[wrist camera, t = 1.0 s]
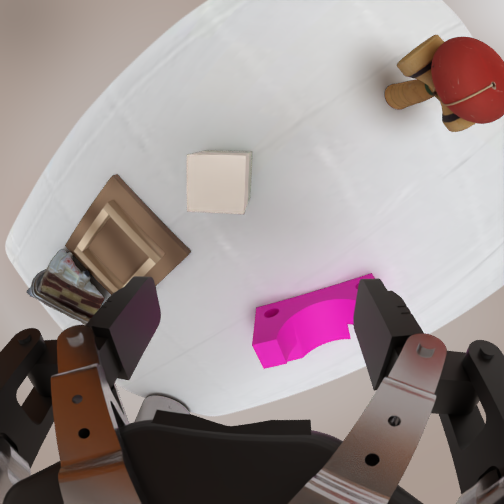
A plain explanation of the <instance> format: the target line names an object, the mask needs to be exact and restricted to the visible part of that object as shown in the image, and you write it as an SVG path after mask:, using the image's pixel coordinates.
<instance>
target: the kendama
mask: <svg viewBox="0 0 504 504" xmlns="http://www.w3.org/2000/svg"><path fill="white" fill-rule="evenodd" d="M397 67H398V68H399V69H400V70H401V72H402V73H403V74H404V75H405V76H407V77H411V78H415V79H417V80H411V81H407V82H403V83H398V84H392V85H390V86H388V87H387V89H386V90H385V99H386V101H387V103H388V104H389V105H390V106H391V107H393V108H395V109H404V108H406V107H408V106H411V105H414V104H417V103H420V102H423V101H426V100H428V99H430V98H432V97H434V96H435V97H436V98H437V99H438V100H439V101H440V103H441V106H442V112H443V113H442V121H443V123H444V125H445V126H446V127H447V129H448V130H449V131H452V132H458V131H462V130H464V129H467V128H469V127H470V126H472V125H474V124H475V123H481V124H484V123H490V122H493V121H495V120H497V119H499V118H500V117H502V116H503V115H504V61H503V60H502V59H501V57H500V56H499V55H498V54H497V53H496V52H495V51H494V50H493V49H492V48H490V47H489V46H488V45H487V44H485V43H483V42H481V41H479V40H477V39H474V38H470V37H456V38H452V39H449V40H447V41H446V42H444V41H443V40H442V39H441V38H440V37H439V36H438V35H434V36H432V37H430V38H429V39H427V40H426V41H425V42H423V43H421V44H420V45H419V46H418V47H416V48H415V49H413V50H412V51H411V52H410V53H408V54H407V55H406V56H405V57H404V58H402V59H401V60H400V61H399V62H398V64H397Z"/></svg>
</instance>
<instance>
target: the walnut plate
mask: <svg viewBox="0 0 504 504" xmlns="http://www.w3.org/2000/svg"><path fill="white" fill-rule="evenodd" d="M65 246H66V247H67V248H68V250H69V251H70V252H71V253H72V254H73V255H74V256H75V257H76V258H77V260H78V261H79V262H80V263H81V264H82V265H83V266H84V267H85V268H86V269H87V270H88V271H89V272H90V274H91V275H92V276H93V277H94V278H95V279H96V280H97V281H98V282H99V283H100V284H101V285H102V286H103V287H104V288H105V289H106V290H107V291H108V292H109V293H110V294H111V295H112V294H113V293H114V292H116V291H118V290H119V289H121V288H122V287H125V285H126V284H127V283H128V282H129V281H130V280H131V279H132V277H134V276H143V277H152V278H153V280H154V282H155V286H156V285H157V284H158V283H159V282H160V281H161V280H163V279H164V278H165V277H166V276H167V275H168V274H169V273H170V272H171V271H172V270H173V269H174V268H175V267H176V266H177V265H178V264H179V263H180V262H181V261H183V260H184V259H185V258H186V257H187V256H188V255H189V253H190V252H191V251H190V250H189V249H188V248H187V247H186V246H185V245H184V244H183V243H182V242H181V241H180V240H179V239H178V238H177V236H176V235H175V234H174V233H173V232H172V231H171V230H170V229H169V228H168V227H167V226H166V225H165V224H164V223H163V222H162V221H161V220H160V219H159V218H158V217H157V216H156V215H155V214H154V213H153V212H152V211H151V210H150V209H149V208H148V207H147V206H146V205H145V203H144V202H143V201H142V200H141V199H140V198H139V197H138V196H137V195H136V194H135V193H134V192H133V191H132V190H131V189H130V188H129V187H128V185H127V184H126V183H125V182H124V181H123V180H122V179H121V178H120V177H119V176H118V175H117V174H116V175H113V176H112V177H111V178H110V179H109V181H108V182H107V183H106V185H105V186H104V188H103V189H102V190H101V192H100V193H99V194H98V196H97V197H96V199H95V200H94V202H93V203H92V204H91V206H90V207H89V209H88V210H87V212H86V213H85V215H84V216H83V218H82V219H81V221H80V222H79V224H78V226H77V227H76V229H75V230H74V232H73V233H72V235H71V237H70V238H69V240H68V242H67V243H66V245H65Z"/></svg>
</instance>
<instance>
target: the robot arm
mask: <svg viewBox="0 0 504 504" xmlns="http://www.w3.org/2000/svg"><path fill="white" fill-rule="evenodd" d="M106 301H107V302H105V303H104V304H103V305H102V306H101V308H100V309H99V310H98V311H97V312H96V313H95V314H94V315H93V317H92V318H91V319H90V320H89V321H88V323H87V324H86V325H76V326H72V327H69V328H67V329H66V330H64V331H63V332H62V333H61V334H60V335H59V336H58V339H57V340H45V341H44V340H43V338H42V335H41V333H40V331H39V330H38V329H35V328H29V329H25V330H23V331H20V332H19V333H17V334H16V335H15V336H14V337H13V338H12V339H11V341H10V342H9V343H8V344H7V345H6V346H5V347H4V349H3V350H2V351H1V352H0V504H423V503H421V502H420V501H419V500H417V499H416V498H415V497H413V496H412V495H411V494H409V493H408V492H407V491H405V490H404V489H403V488H401V487H400V486H399V485H398V483H399V481H400V480H401V478H402V476H403V474H404V472H405V470H406V468H407V466H408V464H409V462H410V460H411V458H412V456H413V454H414V452H415V450H416V448H417V445H418V443H419V441H420V439H421V436H422V434H423V431H424V429H425V426H426V424H427V421H428V419H429V416H430V414H431V413H436V414H439V416H440V419H441V422H442V425H443V428H444V431H445V434H446V437H447V441H448V444H449V447H450V451H451V454H452V458H453V461H454V465H455V469H456V473H457V477H458V481H459V485H460V489H461V494H462V495H461V496H460V497H459V499H458V501H457V503H456V504H504V355H503V354H502V352H501V351H500V350H499V348H498V347H497V346H495V345H494V344H492V343H490V342H488V341H484V340H476V341H474V342H472V343H471V344H470V345H469V348H468V350H467V352H466V353H463V352H453V351H447V349H446V346H445V345H444V343H443V342H442V341H441V340H440V339H438V338H436V337H435V336H432V335H429V334H424V333H423V331H422V329H421V328H420V326H419V325H418V323H417V321H416V320H415V318H414V316H413V315H412V314H411V312H410V310H409V309H408V307H406V304H405V302H404V301H403V299H402V298H401V297H400V296H399V295H397V294H396V293H394V292H393V291H387V289H386V288H385V286H384V284H383V283H382V281H381V280H380V279H361V280H360V281H359V285H358V291H357V297H356V303H355V309H354V316H353V324H354V329H355V333H356V335H357V338H358V341H359V344H360V347H361V351H362V354H363V357H364V360H365V363H366V366H367V369H368V372H369V376H370V379H371V382H372V386H373V389H374V390H377V391H376V393H375V395H374V396H373V398H372V399H371V401H370V402H369V404H368V406H367V407H366V409H365V410H364V412H363V413H362V415H361V416H360V418H359V419H358V421H357V422H356V424H355V425H354V427H353V428H352V430H351V431H350V432H349V434H348V435H347V437H346V438H345V439H344V441H341V440H339V439H337V438H335V437H333V436H331V435H328V434H325V433H321V432H317V431H312V430H311V421H310V420H270V421H264V422H258V423H252V424H245V425H239V426H225V425H222V424H218V423H215V422H212V421H209V420H206V419H203V418H200V417H197V416H194V415H191V414H190V413H189V411H188V410H187V409H186V408H185V407H184V406H183V405H182V404H180V403H178V402H177V401H175V400H173V399H170V398H167V397H163V396H149V397H147V398H145V400H144V401H143V403H142V406H141V408H140V410H139V413H138V415H137V417H136V419H135V422H134V423H131V424H130V423H129V421H128V418H127V416H126V413H125V410H124V407H123V404H122V402H121V399H120V396H119V393H118V390H117V387H116V385H115V381H116V379H117V378H120V379H125V380H129V379H130V378H131V376H132V374H133V372H134V370H135V368H136V366H137V364H138V362H139V360H140V359H141V357H142V355H143V353H144V351H145V349H146V347H147V346H148V344H149V342H150V340H151V338H152V336H153V335H154V333H155V331H156V329H157V327H158V325H159V323H160V318H161V312H160V306H159V302H158V297H157V292H156V287H155V282H154V280H153V278H152V277H143V276H134V277H132V279H131V280H130V281H129V282H128V283H127V284H126V285H125V287H122V288H121V289H119V290H118V291H116V292H114V293H113V294H112V295H111V296H110V297H109V298H108V299H107V300H106ZM26 376H28V378H29V379H30V381H31V383H32V384H33V386H34V387H33V389H32V390H31V392H30V394H29V395H28V397H27V398H26V400H25V402H24V403H23V405H22V406H20V405H19V403H18V401H17V398H16V393H17V389H18V388H19V386H20V385H21V383H22V382H23V380H24V379H25V378H26ZM479 401H480V402H481V404H482V406H483V408H484V411H485V413H486V424H485V423H484V421H483V418H482V416H481V414H480V411H479V409H478V407H477V404H478V402H479ZM53 422H54V424H55V432H56V439H57V445H58V450H59V456H60V461H59V462H57V463H55V464H53V465H51V466H49V467H48V468H45V469H43V470H41V471H39V472H37V473H35V474H33V475H31V476H30V474H31V473H30V468H31V466H32V464H33V462H34V460H35V458H36V456H37V454H38V451H39V449H40V447H41V445H42V443H43V441H44V439H45V437H46V435H47V433H48V432H49V430H50V428H51V426H52V424H53Z"/></svg>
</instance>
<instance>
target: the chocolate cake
mask: <svg viewBox="0 0 504 504" xmlns="http://www.w3.org/2000/svg"><path fill="white" fill-rule="evenodd" d="M72 257H73V255H72V253H71V252H68V253H66V252H65V250H64V249H61V250H59V251H58V252H57V254H56V255H55V256H54V257H53V259H52V260H51V262H50V263H49V265H48V267H47V269H45V270H43V271H41V272H40V273H38V274H37V275H36V276H35V277H34V278H33V281H32V285H31V287H30V288H29V289H28V290H27V293H28V294H29V295H30V296H31V297H34V298H36V299H37V300H39V301H41V302H43V303H44V304H45V305H47V306H49V307H51V308H53V309H56V310H58V311H60V312H62V313H64V314H66V315H67V316H69V317H71V318H73V319H76V320H79V321H81V323H83V324H85V325H86V324H87V323H88V321H89V320H90V319H91V318H92V317H93V315H94V314H95V313H96V312H97V311H98V309H99V308H100V307H101V305H102V303H103V301H104V297H103V295H102V294H101V293H100V292H99V291H98V290H97V289H96V287H95V286H94V285H92V284H91V282H90V281H89V279H90V272H89V271H84V272H81V271H80V269H79V268H78V267H76V265H75V264H74V262H73V260H72Z"/></svg>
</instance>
